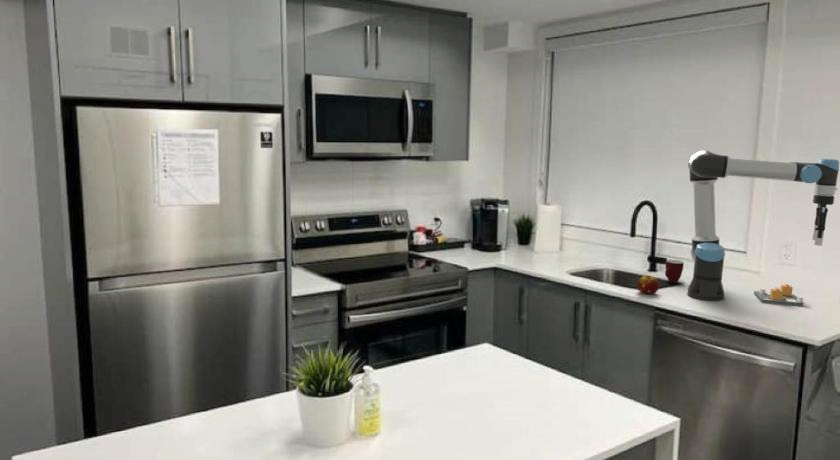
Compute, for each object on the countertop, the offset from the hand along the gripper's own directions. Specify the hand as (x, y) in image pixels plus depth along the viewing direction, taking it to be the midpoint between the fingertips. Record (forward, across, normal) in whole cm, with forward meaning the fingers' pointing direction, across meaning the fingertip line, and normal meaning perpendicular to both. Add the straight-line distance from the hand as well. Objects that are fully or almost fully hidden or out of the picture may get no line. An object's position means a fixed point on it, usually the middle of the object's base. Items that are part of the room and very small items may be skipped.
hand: (817, 242), depth 266 cm
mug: (+27, -2, +57) cm, 63 cm away
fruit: (+27, -30, +64) cm, 76 cm away
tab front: (+24, -15, +13) cm, 31 cm away
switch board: (+26, -10, +12) cm, 30 cm away
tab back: (+24, -5, +9) cm, 26 cm away
